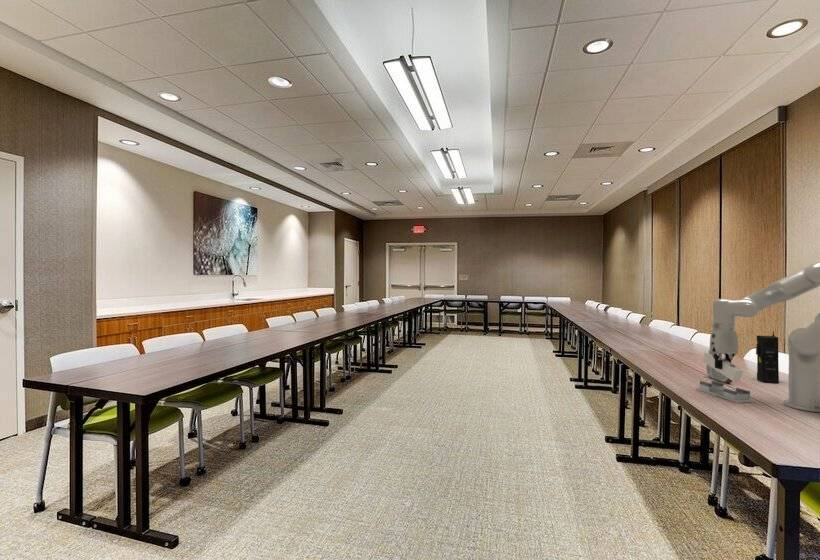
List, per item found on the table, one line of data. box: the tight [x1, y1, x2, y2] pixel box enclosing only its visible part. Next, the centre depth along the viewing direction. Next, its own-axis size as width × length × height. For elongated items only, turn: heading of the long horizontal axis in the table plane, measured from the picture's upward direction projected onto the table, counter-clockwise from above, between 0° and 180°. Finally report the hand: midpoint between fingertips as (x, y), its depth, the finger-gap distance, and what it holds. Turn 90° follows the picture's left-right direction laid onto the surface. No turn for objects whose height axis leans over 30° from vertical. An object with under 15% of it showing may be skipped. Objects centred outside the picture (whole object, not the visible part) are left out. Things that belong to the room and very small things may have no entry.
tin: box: [706, 364, 734, 384], centre depth 196 cm, size 15×3×8 cm, turn 179°
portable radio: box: [755, 330, 780, 384], centre depth 194 cm, size 8×6×25 cm
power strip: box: [702, 350, 744, 382], centre depth 173 cm, size 16×4×5 cm, turn 7°
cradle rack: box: [695, 380, 755, 404], centre depth 172 cm, size 20×8×4 cm, turn 7°
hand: (722, 368), depth 172 cm, fingers closed on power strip, 3 cm apart
